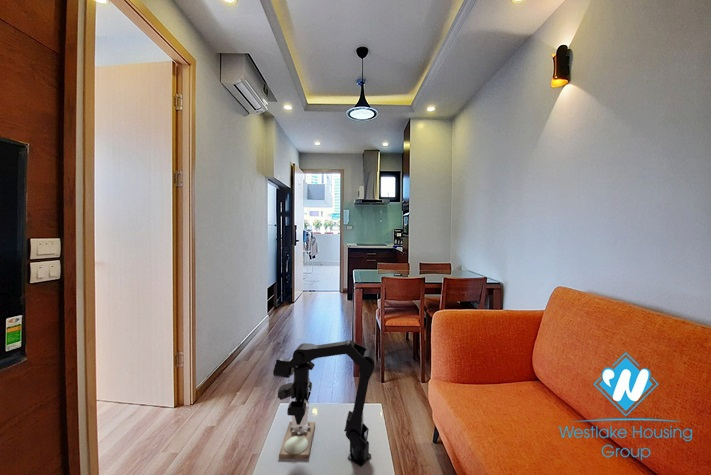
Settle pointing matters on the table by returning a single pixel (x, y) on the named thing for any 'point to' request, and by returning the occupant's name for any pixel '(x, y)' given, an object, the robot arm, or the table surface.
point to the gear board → (297, 441)
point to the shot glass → (305, 417)
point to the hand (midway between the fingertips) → (299, 418)
